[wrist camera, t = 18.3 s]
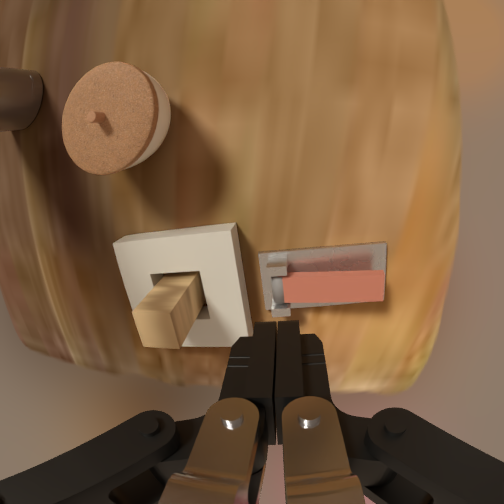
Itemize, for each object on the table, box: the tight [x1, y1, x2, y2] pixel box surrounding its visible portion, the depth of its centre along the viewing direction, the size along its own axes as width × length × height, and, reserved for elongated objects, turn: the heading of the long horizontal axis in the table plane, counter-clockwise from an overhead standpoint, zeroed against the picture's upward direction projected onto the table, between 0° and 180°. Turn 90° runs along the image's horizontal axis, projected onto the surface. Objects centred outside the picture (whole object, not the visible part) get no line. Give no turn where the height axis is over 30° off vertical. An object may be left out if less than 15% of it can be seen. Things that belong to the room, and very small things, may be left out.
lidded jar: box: [62, 62, 171, 175], centre depth 25 cm, size 11×11×9 cm
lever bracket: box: [258, 241, 387, 317], centre depth 31 cm, size 14×7×3 cm, turn 97°
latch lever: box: [271, 270, 385, 304], centre depth 30 cm, size 12×3×2 cm, turn 97°
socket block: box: [113, 223, 253, 347], centre depth 34 cm, size 14×14×3 cm
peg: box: [132, 271, 206, 349], centre depth 31 cm, size 4×4×10 cm
